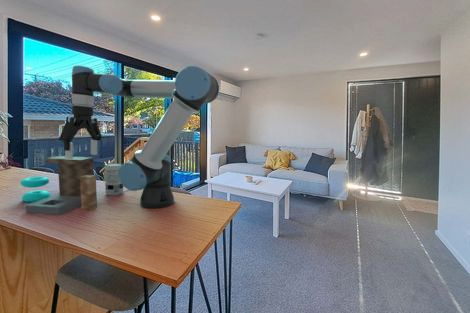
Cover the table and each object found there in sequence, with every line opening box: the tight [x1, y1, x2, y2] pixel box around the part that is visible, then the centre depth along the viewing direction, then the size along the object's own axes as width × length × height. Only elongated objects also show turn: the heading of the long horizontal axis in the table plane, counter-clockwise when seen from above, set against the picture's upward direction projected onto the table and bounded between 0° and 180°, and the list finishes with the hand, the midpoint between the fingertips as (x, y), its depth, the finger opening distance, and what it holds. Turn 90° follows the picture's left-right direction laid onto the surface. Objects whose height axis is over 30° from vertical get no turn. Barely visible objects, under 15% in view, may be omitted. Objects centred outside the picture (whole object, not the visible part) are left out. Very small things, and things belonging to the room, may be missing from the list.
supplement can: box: [104, 163, 124, 196], centre depth 123 cm, size 8×8×15 cm
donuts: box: [20, 176, 51, 203], centre depth 110 cm, size 10×10×10 cm
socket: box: [25, 194, 82, 216], centre depth 101 cm, size 14×14×3 cm
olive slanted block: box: [45, 155, 95, 197], centre depth 110 cm, size 16×8×20 cm, turn 86°
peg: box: [80, 175, 98, 211], centre depth 101 cm, size 4×4×14 cm
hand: (82, 156), depth 102 cm, fingers open, 13 cm apart
